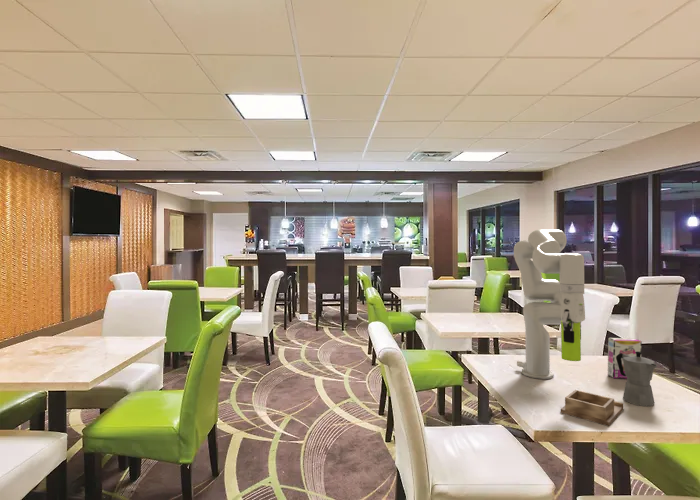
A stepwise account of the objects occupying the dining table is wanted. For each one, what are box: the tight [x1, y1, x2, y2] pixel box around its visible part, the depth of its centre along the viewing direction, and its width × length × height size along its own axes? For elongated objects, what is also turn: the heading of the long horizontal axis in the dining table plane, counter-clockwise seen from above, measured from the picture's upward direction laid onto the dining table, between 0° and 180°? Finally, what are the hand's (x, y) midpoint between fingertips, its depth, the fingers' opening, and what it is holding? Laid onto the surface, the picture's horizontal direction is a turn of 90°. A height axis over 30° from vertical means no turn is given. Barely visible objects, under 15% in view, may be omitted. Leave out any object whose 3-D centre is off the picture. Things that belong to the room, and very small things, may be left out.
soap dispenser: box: [560, 304, 583, 362], centre depth 137 cm, size 6×7×20 cm
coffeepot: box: [616, 351, 658, 407], centre depth 142 cm, size 15×9×18 cm, turn 13°
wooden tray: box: [560, 389, 624, 427], centre depth 133 cm, size 14×18×5 cm
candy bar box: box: [607, 337, 643, 380], centre depth 167 cm, size 11×5×16 cm, turn 84°
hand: (572, 340), depth 137 cm, fingers closed on soap dispenser, 5 cm apart
